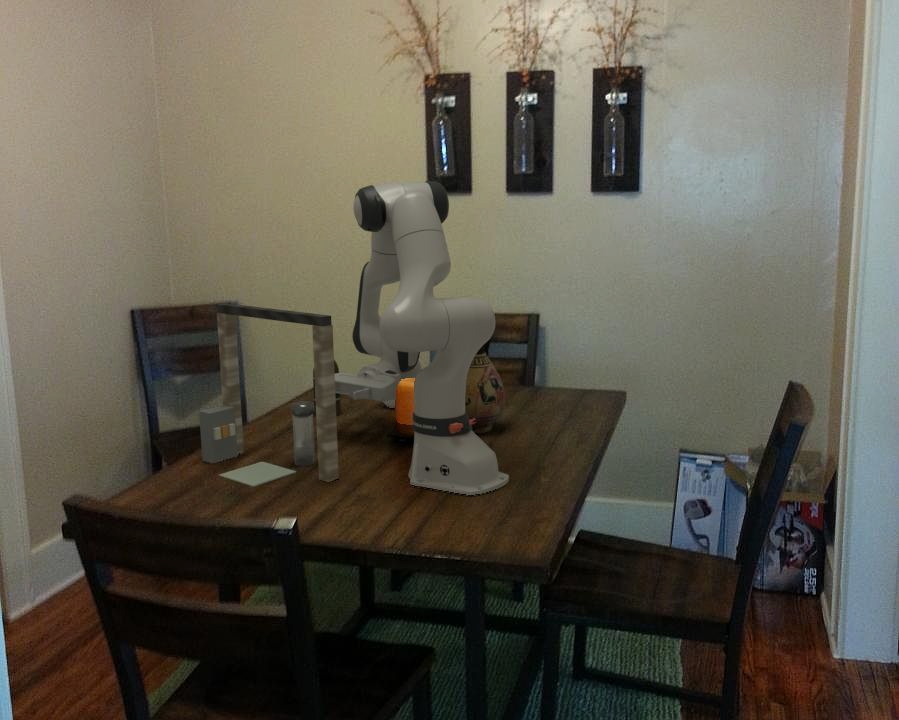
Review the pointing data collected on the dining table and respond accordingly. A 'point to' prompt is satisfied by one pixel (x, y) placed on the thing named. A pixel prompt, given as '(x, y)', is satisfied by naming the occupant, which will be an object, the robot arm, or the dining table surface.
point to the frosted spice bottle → (303, 432)
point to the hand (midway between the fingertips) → (337, 393)
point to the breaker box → (218, 433)
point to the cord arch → (321, 372)
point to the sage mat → (257, 474)
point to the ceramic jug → (483, 392)
